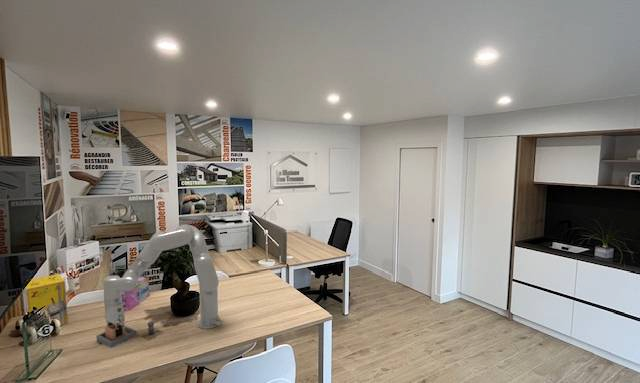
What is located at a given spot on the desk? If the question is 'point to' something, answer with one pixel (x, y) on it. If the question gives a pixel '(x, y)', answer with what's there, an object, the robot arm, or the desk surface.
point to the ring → (113, 331)
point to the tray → (106, 341)
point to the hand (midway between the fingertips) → (115, 333)
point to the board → (151, 332)
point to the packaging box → (47, 297)
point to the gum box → (136, 293)
